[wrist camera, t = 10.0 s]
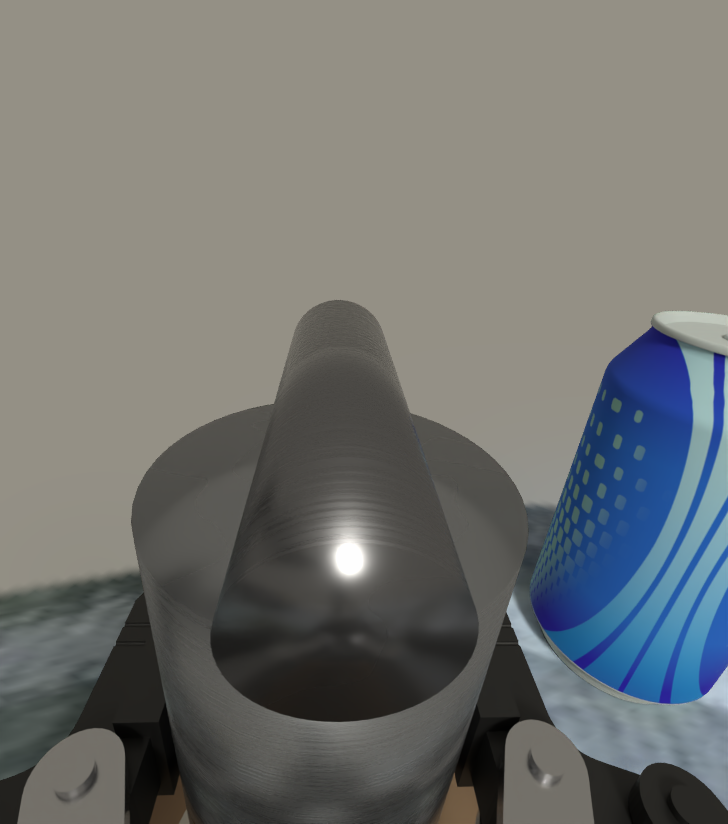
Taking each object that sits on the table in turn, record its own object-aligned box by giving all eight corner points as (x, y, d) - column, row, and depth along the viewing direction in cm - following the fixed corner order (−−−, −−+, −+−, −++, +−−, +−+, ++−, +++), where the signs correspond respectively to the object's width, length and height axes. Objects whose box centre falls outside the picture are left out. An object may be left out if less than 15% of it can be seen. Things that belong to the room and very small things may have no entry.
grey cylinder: (168, 1089, 8) (-129, 535, 2) (235, 727, 14) (199, 290, 8) (434, 1066, 9) (762, 551, 3) (396, 724, 15) (476, 309, 9)
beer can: (721, 763, 18) (1021, 411, 11) (510, 664, 21) (632, 338, 14) (689, 609, 25) (857, 332, 17) (533, 552, 28) (622, 295, 21)
